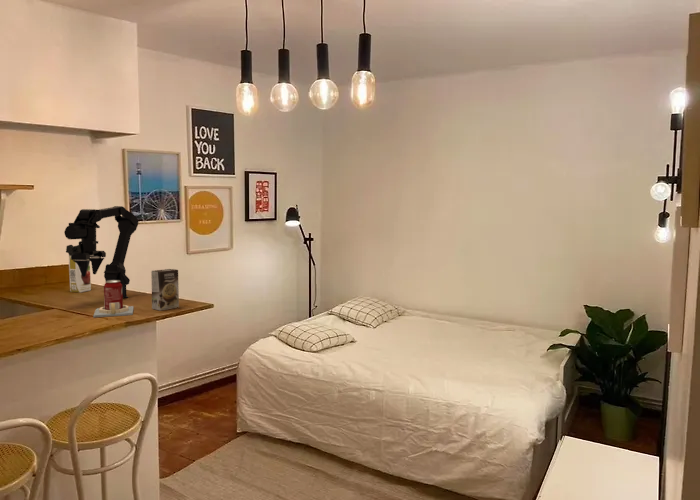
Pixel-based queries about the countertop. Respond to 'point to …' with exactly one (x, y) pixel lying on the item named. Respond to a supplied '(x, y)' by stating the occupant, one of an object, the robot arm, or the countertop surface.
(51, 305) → the countertop surface
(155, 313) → the countertop surface
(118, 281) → the soda can
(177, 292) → the cookie box
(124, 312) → the flange board
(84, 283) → the juice carton
